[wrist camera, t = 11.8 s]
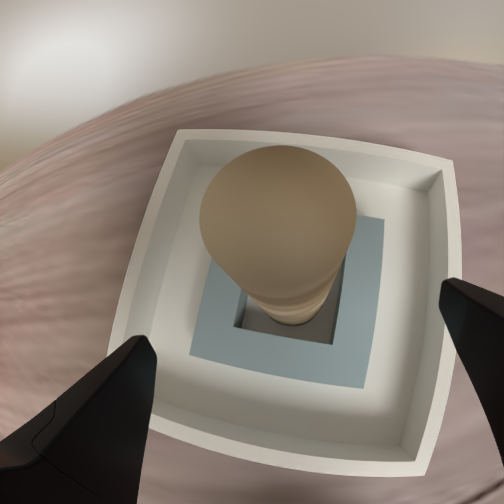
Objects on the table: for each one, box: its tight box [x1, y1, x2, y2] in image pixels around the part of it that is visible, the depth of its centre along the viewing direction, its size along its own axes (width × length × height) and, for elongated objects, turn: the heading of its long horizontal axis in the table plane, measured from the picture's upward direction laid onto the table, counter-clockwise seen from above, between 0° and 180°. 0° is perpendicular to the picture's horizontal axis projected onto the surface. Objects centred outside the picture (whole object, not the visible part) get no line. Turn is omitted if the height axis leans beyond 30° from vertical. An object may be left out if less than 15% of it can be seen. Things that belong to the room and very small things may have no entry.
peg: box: [199, 145, 357, 326], centre depth 13 cm, size 4×4×12 cm
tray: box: [106, 129, 462, 477], centre depth 17 cm, size 20×20×4 cm
